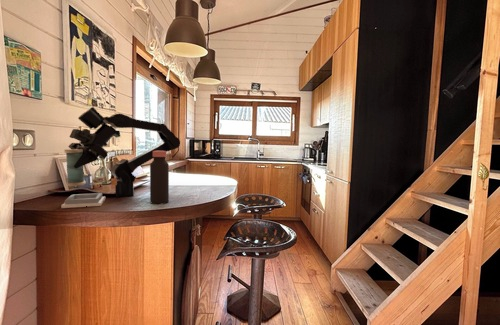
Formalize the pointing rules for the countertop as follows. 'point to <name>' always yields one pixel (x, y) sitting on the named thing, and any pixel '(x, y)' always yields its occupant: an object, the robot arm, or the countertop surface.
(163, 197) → the bottle
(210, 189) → the countertop surface
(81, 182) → the bobbin
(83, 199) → the grey flat square tray
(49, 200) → the countertop surface
